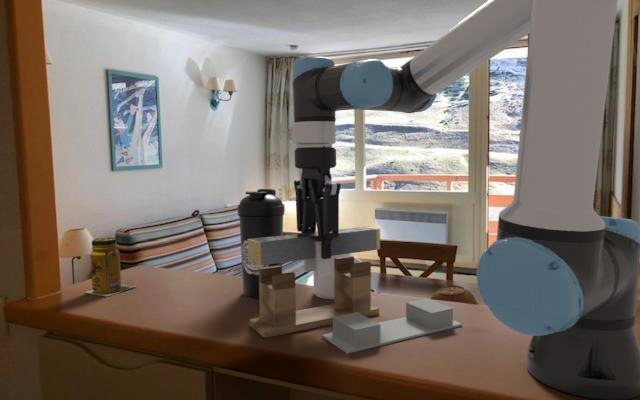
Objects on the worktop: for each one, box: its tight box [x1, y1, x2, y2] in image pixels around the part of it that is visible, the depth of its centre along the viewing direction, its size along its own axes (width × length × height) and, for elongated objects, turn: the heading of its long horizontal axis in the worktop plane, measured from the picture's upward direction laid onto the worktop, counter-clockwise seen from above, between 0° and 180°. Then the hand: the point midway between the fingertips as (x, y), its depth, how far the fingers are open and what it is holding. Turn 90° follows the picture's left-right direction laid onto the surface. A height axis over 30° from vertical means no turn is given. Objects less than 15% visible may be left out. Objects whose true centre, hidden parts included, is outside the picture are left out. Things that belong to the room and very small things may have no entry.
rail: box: [247, 226, 381, 266], centre depth 94 cm, size 26×4×4 cm, turn 119°
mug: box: [313, 253, 362, 300], centre depth 111 cm, size 12×8×10 cm
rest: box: [321, 298, 463, 355], centre depth 90 cm, size 8×24×3 cm, turn 119°
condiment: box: [84, 237, 137, 297], centre depth 116 cm, size 7×8×12 cm
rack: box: [249, 255, 380, 339], centre depth 95 cm, size 7×24×10 cm, turn 119°
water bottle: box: [237, 188, 285, 300], centre depth 112 cm, size 10×10×23 cm
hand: (317, 272), depth 94 cm, fingers closed on rail, 4 cm apart
